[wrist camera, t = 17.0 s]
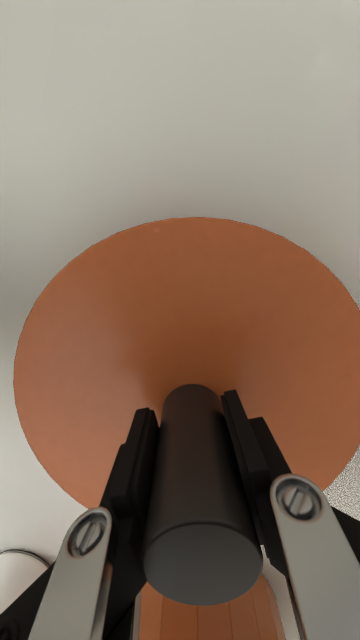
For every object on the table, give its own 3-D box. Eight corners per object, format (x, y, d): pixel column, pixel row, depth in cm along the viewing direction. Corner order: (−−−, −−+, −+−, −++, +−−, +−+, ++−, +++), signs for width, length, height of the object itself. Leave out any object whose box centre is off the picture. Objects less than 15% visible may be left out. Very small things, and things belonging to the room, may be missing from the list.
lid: (-31, 274, 11) (-408, 294, 4) (349, 174, 10) (783, -61, 3) (91, 538, 15) (14, 771, 8) (366, 493, 14) (549, 723, 7)
